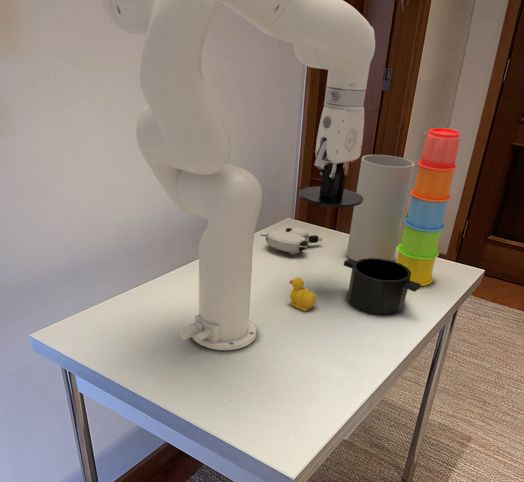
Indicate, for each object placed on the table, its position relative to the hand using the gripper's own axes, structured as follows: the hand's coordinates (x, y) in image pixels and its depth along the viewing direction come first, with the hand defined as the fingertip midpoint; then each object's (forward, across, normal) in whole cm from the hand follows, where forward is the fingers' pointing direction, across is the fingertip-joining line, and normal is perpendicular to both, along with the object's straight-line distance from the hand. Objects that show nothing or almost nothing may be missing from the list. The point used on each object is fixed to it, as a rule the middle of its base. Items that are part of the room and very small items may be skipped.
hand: (331, 194), depth 111 cm
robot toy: (+22, +15, +21) cm, 34 cm away
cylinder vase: (+22, +26, +3) cm, 34 cm away
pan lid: (+1, 0, 0) cm, 1 cm away
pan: (+22, +5, -13) cm, 26 cm away
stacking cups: (+22, +24, -11) cm, 34 cm away
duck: (+22, -10, -3) cm, 24 cm away
